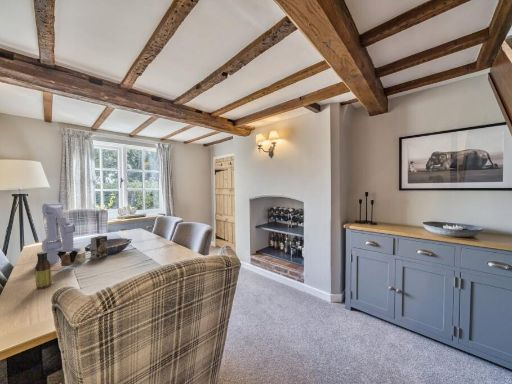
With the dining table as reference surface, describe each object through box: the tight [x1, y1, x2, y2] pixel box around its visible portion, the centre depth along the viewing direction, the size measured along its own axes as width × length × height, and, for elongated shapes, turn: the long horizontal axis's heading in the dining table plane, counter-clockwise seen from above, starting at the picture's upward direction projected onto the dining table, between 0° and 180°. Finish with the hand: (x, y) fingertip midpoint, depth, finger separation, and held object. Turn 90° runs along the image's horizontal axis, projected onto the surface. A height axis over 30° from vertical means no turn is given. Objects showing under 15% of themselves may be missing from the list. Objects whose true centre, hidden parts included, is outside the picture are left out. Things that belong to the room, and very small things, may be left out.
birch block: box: [74, 251, 86, 264], centre depth 156 cm, size 5×5×7 cm
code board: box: [51, 259, 91, 273], centre depth 150 cm, size 17×22×1 cm
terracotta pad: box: [50, 265, 66, 271], centre depth 145 cm, size 8×8×1 cm
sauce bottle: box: [34, 251, 52, 290], centre depth 120 cm, size 6×6×20 cm
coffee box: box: [90, 235, 108, 260], centre depth 169 cm, size 9×6×16 cm
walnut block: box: [60, 252, 75, 266], centre depth 145 cm, size 5×5×7 cm
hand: (68, 262), depth 145 cm, fingers closed on walnut block, 5 cm apart
